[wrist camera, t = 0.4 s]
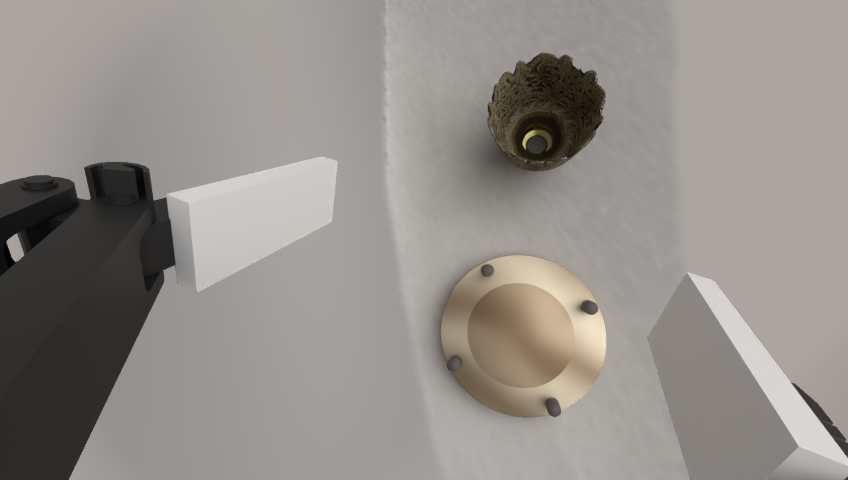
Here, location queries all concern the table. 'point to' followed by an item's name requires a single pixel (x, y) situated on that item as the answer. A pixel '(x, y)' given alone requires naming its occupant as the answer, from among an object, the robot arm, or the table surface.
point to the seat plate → (523, 336)
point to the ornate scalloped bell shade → (545, 111)
